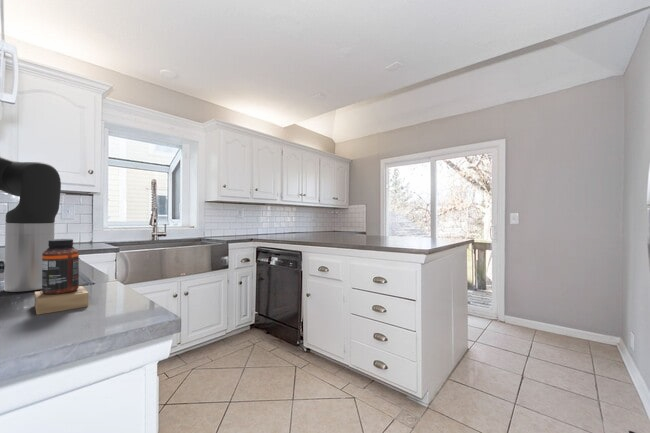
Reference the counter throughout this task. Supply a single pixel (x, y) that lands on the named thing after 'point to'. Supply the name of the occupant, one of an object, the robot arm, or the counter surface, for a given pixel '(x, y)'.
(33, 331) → the counter surface
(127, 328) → the counter surface
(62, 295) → the oak base
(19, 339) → the counter surface
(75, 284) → the supplement bottle
